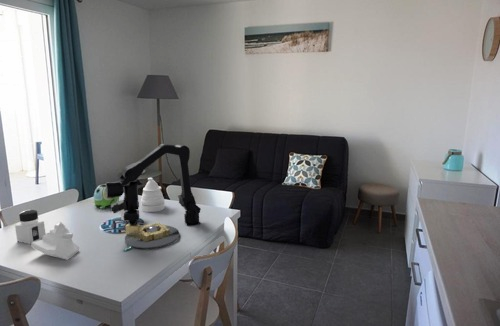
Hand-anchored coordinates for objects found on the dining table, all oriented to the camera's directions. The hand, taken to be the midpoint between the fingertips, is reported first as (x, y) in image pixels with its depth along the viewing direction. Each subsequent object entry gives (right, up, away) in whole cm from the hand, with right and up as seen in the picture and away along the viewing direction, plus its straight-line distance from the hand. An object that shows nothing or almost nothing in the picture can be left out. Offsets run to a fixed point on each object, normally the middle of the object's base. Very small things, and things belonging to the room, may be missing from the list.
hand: (132, 227), depth 149 cm
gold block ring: (+8, -2, -3) cm, 9 cm away
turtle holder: (-29, +5, +41) cm, 50 cm away
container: (-43, -4, -5) cm, 43 cm away
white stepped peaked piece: (-23, -7, -19) cm, 30 cm away
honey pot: (-2, +4, +37) cm, 37 cm away
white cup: (-9, 0, +20) cm, 22 cm away
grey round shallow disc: (+10, -4, -3) cm, 11 cm away
